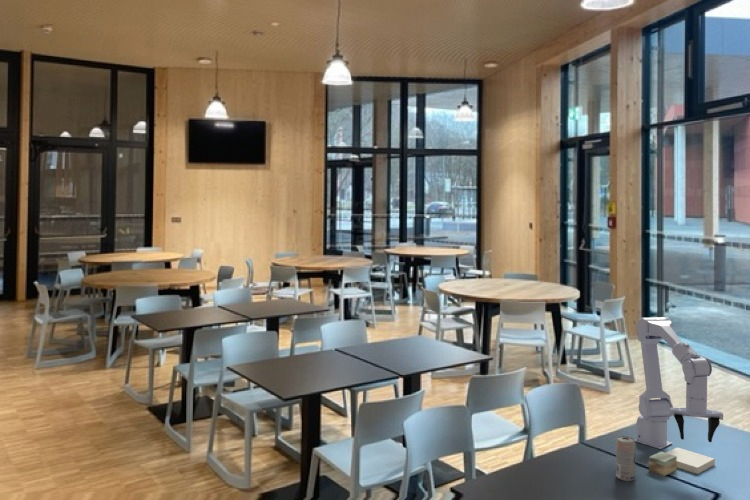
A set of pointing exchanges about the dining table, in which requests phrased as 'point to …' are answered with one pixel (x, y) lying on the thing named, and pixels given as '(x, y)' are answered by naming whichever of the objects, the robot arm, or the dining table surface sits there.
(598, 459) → the dining table surface
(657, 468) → the sage green block
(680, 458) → the white stand
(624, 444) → the energy drink
